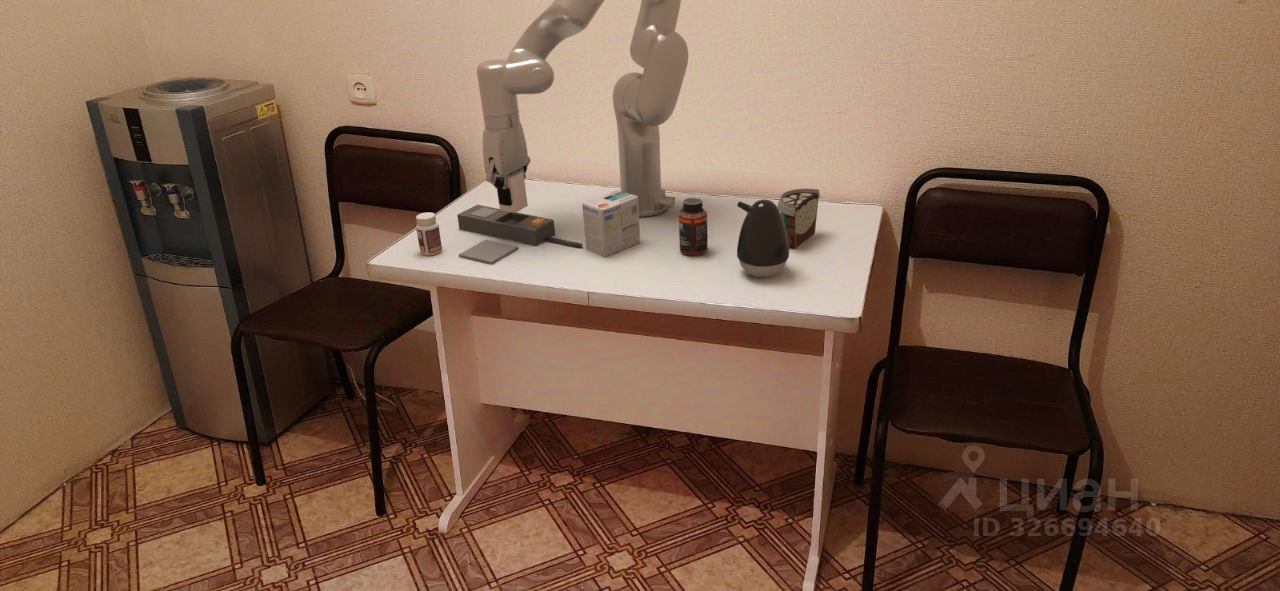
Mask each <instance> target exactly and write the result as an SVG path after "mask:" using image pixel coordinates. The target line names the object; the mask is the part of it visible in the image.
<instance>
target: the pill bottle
mask: <svg viewBox="0 0 1280 591" xmlns="http://www.w3.org/2000/svg"><path fill="white" fill-rule="evenodd" d="M415 218H416V225H415V226H416V227H415V229H416V235H417V239H418V240H417V241H418V247H419V253H420V254H421V255H423V256H430V257H431V256H435V255H439V254H440V253H441V252H442V251H443V245H442V239H441V238H442V237H441V233H440V231H441V230H440V225H439V223H438V222H437V217H436V214H435V213H434V212H421V213H419V214H418V215H416V216H415Z"/></svg>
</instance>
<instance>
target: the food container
mask: <svg viewBox="0 0 1280 591" xmlns="http://www.w3.org/2000/svg"><path fill="white" fill-rule="evenodd" d="M820 196H821V195H820V189H817V188H797V189H795V188H794V189H790V190H788V191H785V192H783V193H782V194H781V195H780V196H779V199H778V202H777V205H776V206H777V208H778V209H779V211H780V213H781V215H782V218H783V221H784V224H785V227H786V231H787V236H788V243H789V249H792V250H797V249H799V248H800V247H801V246H802V245H804V244H805V243H806V242H808V241H809V240H810V239H811V238H812V237H814V236H816V229H817V228H816V226H817V216H818V206H819V199H820Z"/></svg>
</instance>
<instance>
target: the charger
mask: <svg viewBox="0 0 1280 591" xmlns="http://www.w3.org/2000/svg"><path fill="white" fill-rule="evenodd" d="M525 180H526V179H525ZM525 180H524V173H523V172H522V171H514V172H512V173H510V174H508V188H510V194H511V201H512V205H511V206H506V205H501V204H499V203H498V206H499V209H500V210H503V211H508V212H514V213H516V212H517V213H519V212H520V211H521V210H523V209H525V208H527V207H528V205H529V203H528V196H527V191H526V190H527V189H526V182H525ZM500 181H502V177H500ZM496 192H497V191H496ZM497 194H498V192H497ZM497 200H498V201H499V199H498V198H497Z"/></svg>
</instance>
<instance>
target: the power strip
mask: <svg viewBox="0 0 1280 591" xmlns="http://www.w3.org/2000/svg"><path fill="white" fill-rule="evenodd" d="M456 216H457V222H458V229H459V230H460V231H465V232H470V233H473V234H478V235H484V236H489V237H493V238H498V239H503V240H507V241H512V242H515V243H516V242H517V243H521V244H524V245H530V246H535V247H537V246H539V245H540V244H543V243H544V242H545V241H548V242H552V243H556V244H561V245H566V246H570V247H575V248H580V249H582V248H583V246H584V244H583V243H582V242H577V241H572V240H568V239H563V238H557V237H554V236H555V235H556V230H555V229H556V228H555V227H556V226H555V220H554V219H551V218H547V217H541V216H537V215H532V214H526V213H521V212H516V213H514V212H508V211H503V210H500V208H497V207H493V206H487V205H481V204H476V205H473V206H472V207H470V208H468V209H466V210H464V211H462V212H460V213H458V214H457V215H456Z"/></svg>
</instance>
